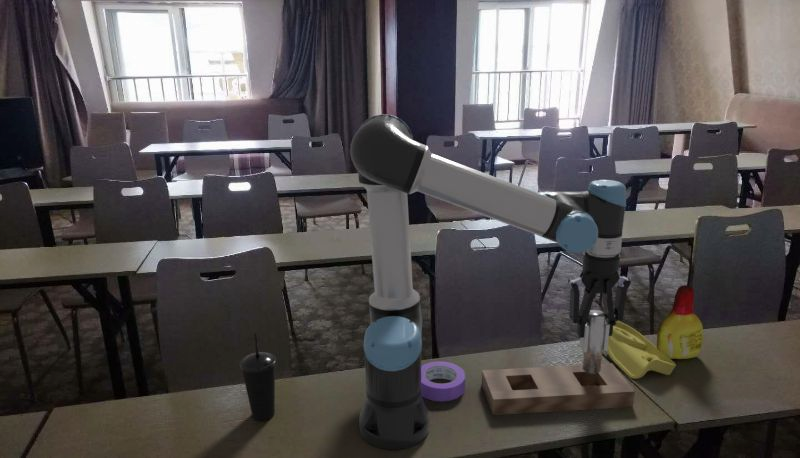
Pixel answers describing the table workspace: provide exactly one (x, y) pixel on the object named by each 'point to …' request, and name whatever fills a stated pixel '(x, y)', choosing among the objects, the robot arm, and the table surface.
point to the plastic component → (636, 353)
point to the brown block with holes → (555, 389)
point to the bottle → (681, 328)
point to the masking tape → (447, 389)
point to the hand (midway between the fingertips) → (593, 348)
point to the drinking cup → (260, 382)
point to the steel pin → (594, 342)
